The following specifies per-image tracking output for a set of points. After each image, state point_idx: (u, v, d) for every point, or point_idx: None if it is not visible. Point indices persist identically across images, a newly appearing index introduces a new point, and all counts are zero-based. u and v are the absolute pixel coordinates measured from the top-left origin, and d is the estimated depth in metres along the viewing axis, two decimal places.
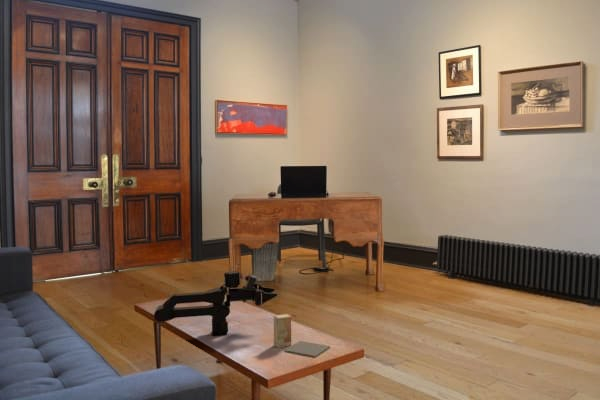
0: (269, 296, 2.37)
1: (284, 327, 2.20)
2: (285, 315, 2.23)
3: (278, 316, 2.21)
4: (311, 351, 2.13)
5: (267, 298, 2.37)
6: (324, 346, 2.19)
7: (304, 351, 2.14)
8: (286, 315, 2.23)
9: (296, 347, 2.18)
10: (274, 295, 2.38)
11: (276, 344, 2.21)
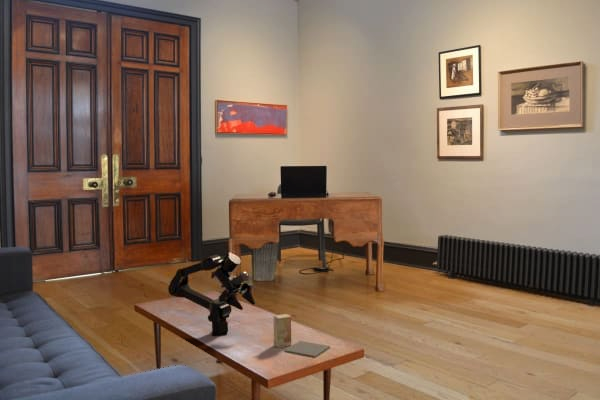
0: (235, 304, 2.27)
1: (284, 327, 2.20)
2: (285, 315, 2.23)
3: (278, 316, 2.21)
4: (311, 351, 2.13)
5: (232, 303, 2.28)
6: (324, 346, 2.19)
7: (304, 351, 2.14)
8: (286, 315, 2.23)
9: (296, 347, 2.18)
10: (239, 307, 2.27)
11: (276, 344, 2.21)
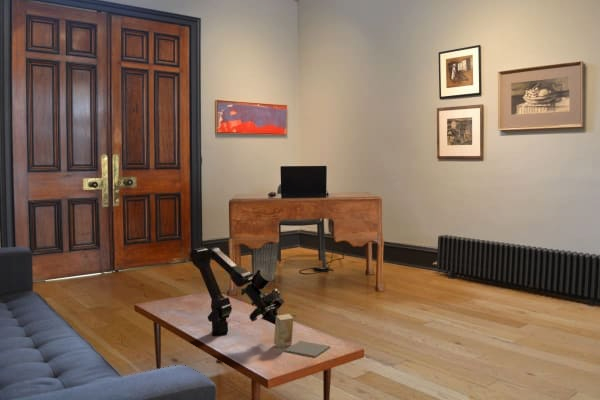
0: (272, 320, 2.23)
1: (286, 328, 2.19)
2: (287, 316, 2.21)
3: (280, 317, 2.19)
4: (311, 351, 2.13)
5: (270, 319, 2.24)
6: (324, 346, 2.19)
7: (304, 351, 2.14)
8: (288, 316, 2.21)
9: (296, 347, 2.18)
10: None
11: (276, 343, 2.21)
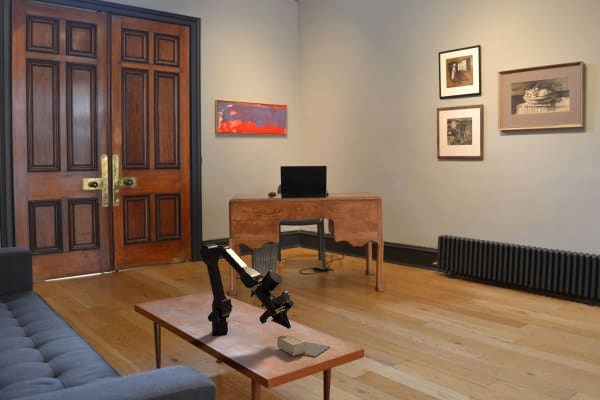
0: (282, 322, 2.21)
1: None
2: (302, 347, 2.11)
3: (295, 349, 2.09)
4: (311, 351, 2.13)
5: (280, 322, 2.21)
6: (324, 346, 2.19)
7: None
8: (303, 348, 2.11)
9: None
10: (287, 326, 2.20)
11: (278, 344, 2.18)
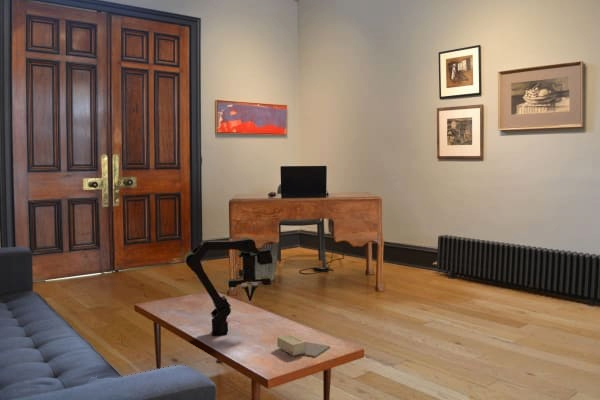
0: (252, 293, 2.43)
1: None
2: (302, 347, 2.11)
3: (295, 349, 2.09)
4: (311, 351, 2.13)
5: None
6: (324, 346, 2.19)
7: None
8: (303, 348, 2.11)
9: None
10: (251, 298, 2.44)
11: (278, 344, 2.18)
